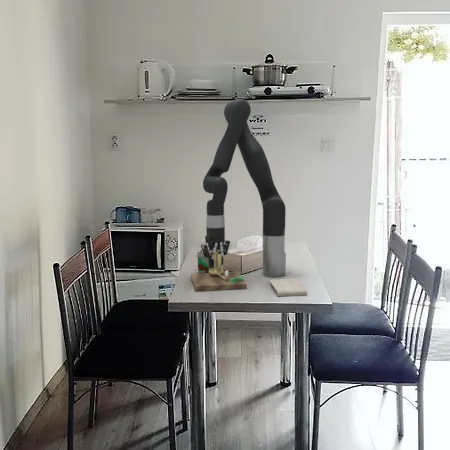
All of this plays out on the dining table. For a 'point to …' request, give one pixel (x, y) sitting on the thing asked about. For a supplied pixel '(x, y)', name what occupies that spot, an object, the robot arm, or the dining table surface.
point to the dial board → (218, 282)
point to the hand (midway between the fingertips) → (215, 266)
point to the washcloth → (287, 287)
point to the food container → (203, 263)
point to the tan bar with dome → (218, 268)
